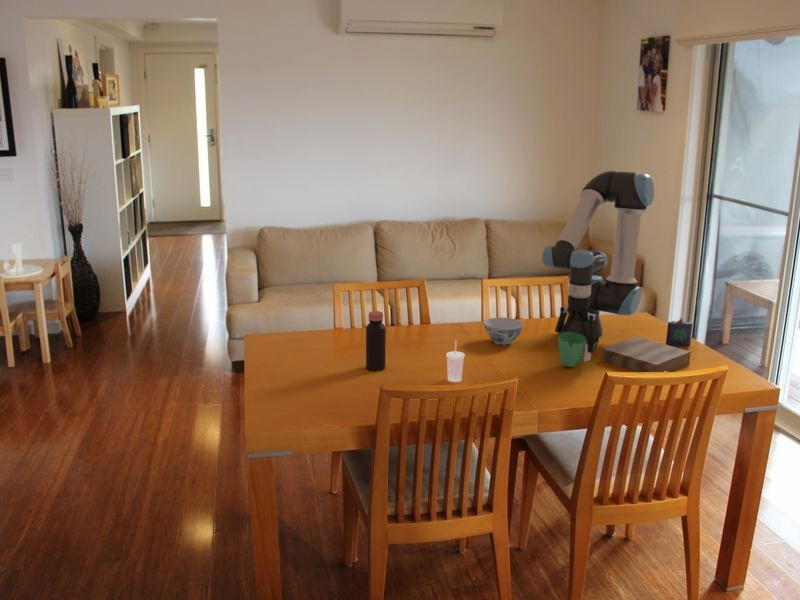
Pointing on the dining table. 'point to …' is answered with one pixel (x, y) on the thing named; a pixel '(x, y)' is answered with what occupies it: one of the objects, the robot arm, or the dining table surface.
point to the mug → (572, 348)
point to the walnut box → (645, 355)
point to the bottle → (375, 342)
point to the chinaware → (503, 329)
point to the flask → (679, 333)
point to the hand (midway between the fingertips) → (575, 356)
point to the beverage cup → (455, 365)
